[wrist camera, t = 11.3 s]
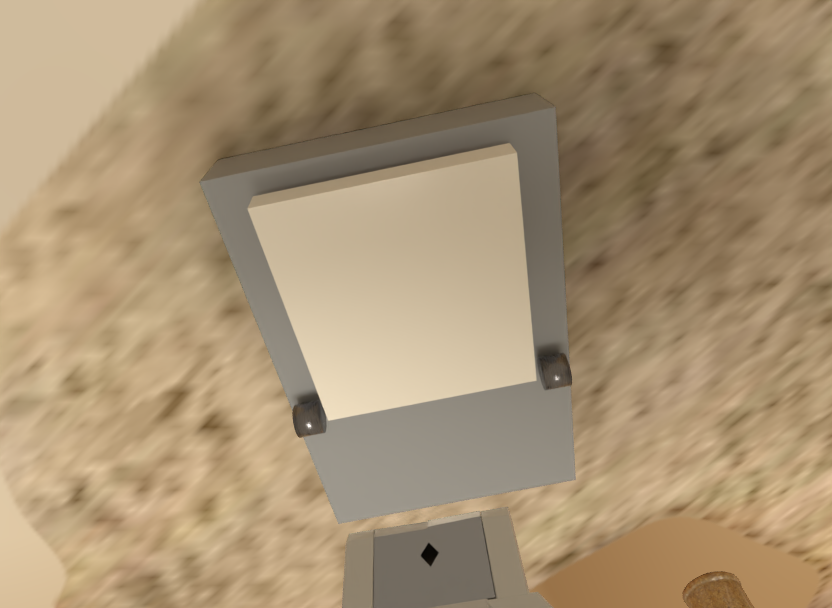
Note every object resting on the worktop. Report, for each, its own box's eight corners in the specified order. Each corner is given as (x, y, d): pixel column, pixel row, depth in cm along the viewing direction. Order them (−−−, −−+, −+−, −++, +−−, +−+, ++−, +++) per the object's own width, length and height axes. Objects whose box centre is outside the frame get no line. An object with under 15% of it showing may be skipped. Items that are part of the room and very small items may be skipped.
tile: (536, 380, 26) (529, 362, 27) (516, 152, 20) (508, 141, 21) (328, 420, 26) (329, 400, 27) (247, 208, 20) (253, 194, 21)
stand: (535, 92, 23) (569, 116, 19) (560, 442, 34) (585, 504, 30) (217, 159, 24) (186, 196, 20) (340, 483, 35) (337, 549, 31)
